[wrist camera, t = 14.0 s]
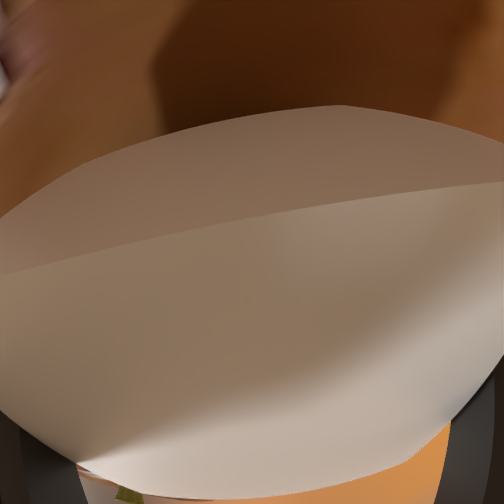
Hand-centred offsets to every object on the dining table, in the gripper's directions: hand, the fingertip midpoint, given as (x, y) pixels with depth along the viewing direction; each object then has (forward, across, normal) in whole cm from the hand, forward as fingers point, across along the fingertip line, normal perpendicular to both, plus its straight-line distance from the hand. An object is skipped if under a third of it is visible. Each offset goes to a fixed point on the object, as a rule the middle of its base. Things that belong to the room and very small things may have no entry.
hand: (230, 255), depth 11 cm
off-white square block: (+1, 0, 0) cm, 1 cm away
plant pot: (+5, -49, -74) cm, 89 cm away
